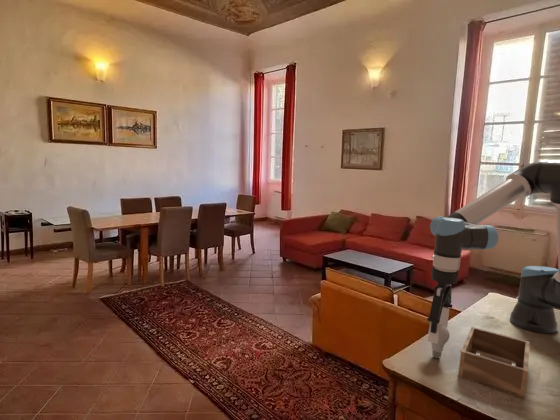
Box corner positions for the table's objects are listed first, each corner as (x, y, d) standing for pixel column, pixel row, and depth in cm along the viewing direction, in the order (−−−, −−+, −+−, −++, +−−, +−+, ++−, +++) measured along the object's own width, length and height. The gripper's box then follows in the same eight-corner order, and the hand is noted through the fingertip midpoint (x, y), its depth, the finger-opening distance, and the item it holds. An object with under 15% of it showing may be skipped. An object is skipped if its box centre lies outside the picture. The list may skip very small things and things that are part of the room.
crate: (469, 348, 122) (471, 326, 121) (526, 365, 113) (529, 341, 112) (458, 376, 106) (461, 351, 105) (524, 398, 97) (527, 371, 96)
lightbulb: (421, 354, 118) (424, 321, 116) (436, 351, 120) (439, 319, 118) (435, 364, 112) (439, 330, 110) (451, 361, 114) (454, 327, 113)
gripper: (441, 258, 124) (434, 317, 127) (422, 275, 104) (414, 345, 107) (465, 262, 120) (458, 323, 123) (450, 281, 99) (442, 354, 102)
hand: (437, 333), depth 115 cm, fingers open, 13 cm apart
